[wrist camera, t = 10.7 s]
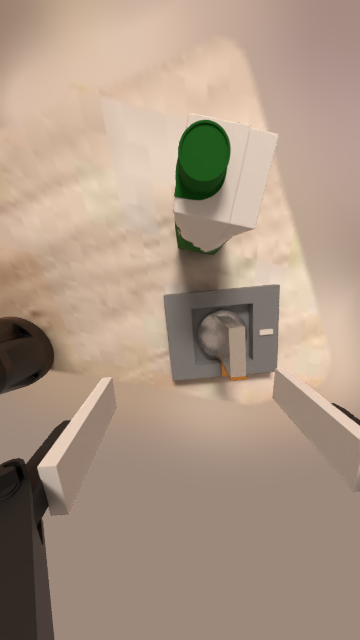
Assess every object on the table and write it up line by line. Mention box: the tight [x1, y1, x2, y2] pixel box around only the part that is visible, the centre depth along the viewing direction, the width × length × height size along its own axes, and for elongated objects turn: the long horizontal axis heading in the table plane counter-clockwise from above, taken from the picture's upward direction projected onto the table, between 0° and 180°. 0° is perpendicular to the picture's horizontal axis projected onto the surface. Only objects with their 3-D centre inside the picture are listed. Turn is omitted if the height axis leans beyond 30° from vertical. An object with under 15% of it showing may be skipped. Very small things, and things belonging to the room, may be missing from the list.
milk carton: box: [173, 113, 279, 255], centre depth 23 cm, size 9×9×20 cm
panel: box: [164, 285, 280, 381], centre depth 35 cm, size 22×18×3 cm
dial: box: [197, 310, 247, 381], centre depth 31 cm, size 10×10×10 cm
